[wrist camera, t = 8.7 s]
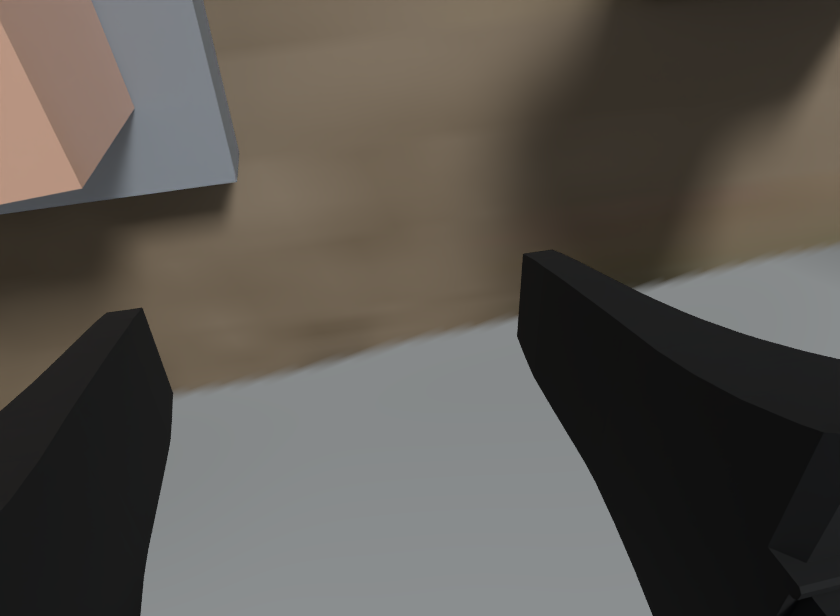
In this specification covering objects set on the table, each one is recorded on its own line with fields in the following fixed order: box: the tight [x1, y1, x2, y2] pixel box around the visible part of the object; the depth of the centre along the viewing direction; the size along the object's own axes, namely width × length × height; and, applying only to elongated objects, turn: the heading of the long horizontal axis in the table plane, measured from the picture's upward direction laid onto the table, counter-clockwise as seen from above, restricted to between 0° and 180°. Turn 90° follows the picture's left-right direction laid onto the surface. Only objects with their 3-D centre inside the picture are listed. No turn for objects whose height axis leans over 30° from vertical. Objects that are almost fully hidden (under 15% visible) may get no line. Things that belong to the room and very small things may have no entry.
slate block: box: [0, 0, 239, 214], centre depth 16 cm, size 9×9×3 cm
